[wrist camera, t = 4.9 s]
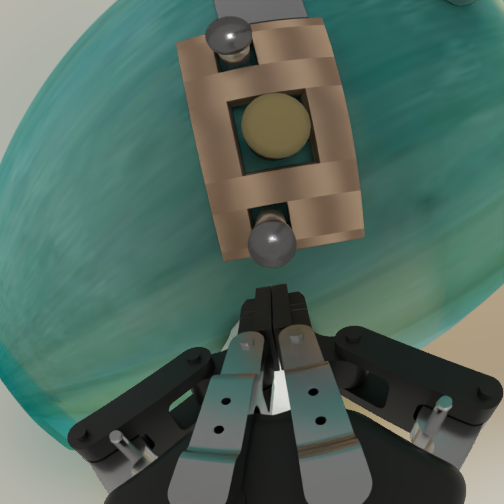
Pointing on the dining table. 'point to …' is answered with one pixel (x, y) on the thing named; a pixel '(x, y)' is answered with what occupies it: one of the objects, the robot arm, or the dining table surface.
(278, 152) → the cork
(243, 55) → the plunger
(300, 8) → the pad
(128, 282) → the dining table surface
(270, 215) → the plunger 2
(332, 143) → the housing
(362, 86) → the dining table surface
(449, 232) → the dining table surface
